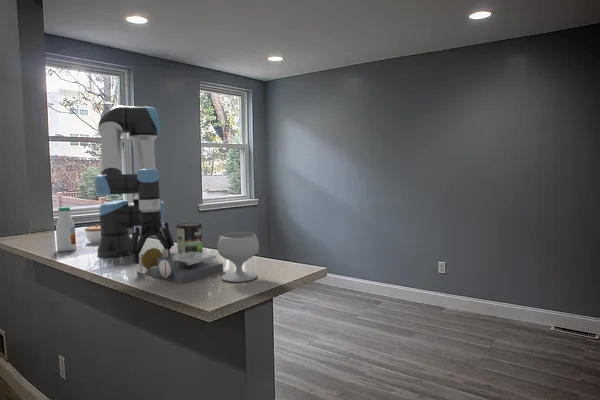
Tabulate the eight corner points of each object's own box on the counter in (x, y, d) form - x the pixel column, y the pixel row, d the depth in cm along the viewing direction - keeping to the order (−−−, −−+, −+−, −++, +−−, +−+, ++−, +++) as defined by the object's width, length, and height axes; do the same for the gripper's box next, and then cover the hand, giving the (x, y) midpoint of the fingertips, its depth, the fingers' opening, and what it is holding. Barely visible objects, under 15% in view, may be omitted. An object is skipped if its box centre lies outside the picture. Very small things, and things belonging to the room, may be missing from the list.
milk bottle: (66, 252, 195) (63, 208, 194) (53, 251, 198) (50, 208, 196) (80, 248, 203) (77, 206, 201) (67, 247, 205) (64, 206, 203)
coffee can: (206, 255, 185) (205, 222, 183) (196, 260, 175) (195, 226, 173) (184, 254, 187) (183, 222, 185) (173, 259, 177) (171, 225, 175)
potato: (164, 266, 166) (163, 245, 165) (161, 271, 158) (160, 249, 158) (145, 267, 165) (143, 246, 164) (141, 272, 157) (140, 251, 156)
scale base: (148, 276, 152) (147, 257, 151) (190, 265, 167) (189, 247, 166) (181, 284, 141) (180, 263, 141) (223, 271, 156) (222, 253, 156)
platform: (163, 260, 154) (163, 257, 154) (192, 253, 164) (192, 251, 164) (187, 265, 146) (187, 262, 146) (215, 258, 157) (215, 255, 157)
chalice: (224, 272, 155) (223, 231, 154) (263, 272, 154) (262, 231, 152) (213, 283, 141) (211, 238, 140) (255, 284, 140) (253, 238, 138)
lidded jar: (80, 244, 215) (79, 225, 214) (96, 240, 225) (95, 222, 224) (98, 244, 212) (97, 226, 211) (113, 240, 222) (112, 222, 221)
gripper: (127, 214, 148) (130, 277, 150) (182, 207, 167) (184, 263, 169) (115, 213, 152) (118, 274, 154) (169, 207, 171) (172, 261, 173)
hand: (153, 268), depth 161 cm, fingers open, 11 cm apart
